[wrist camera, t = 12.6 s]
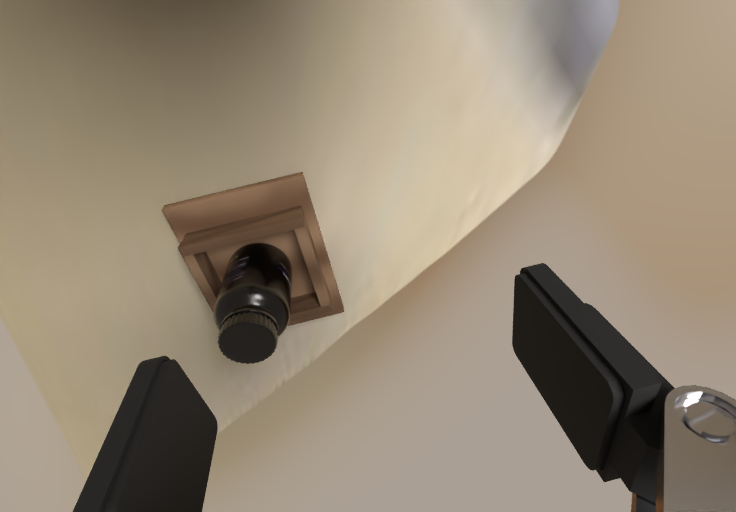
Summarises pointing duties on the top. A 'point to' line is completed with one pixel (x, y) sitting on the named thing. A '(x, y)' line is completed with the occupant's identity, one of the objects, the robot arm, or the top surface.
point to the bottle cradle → (258, 240)
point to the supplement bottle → (253, 302)
